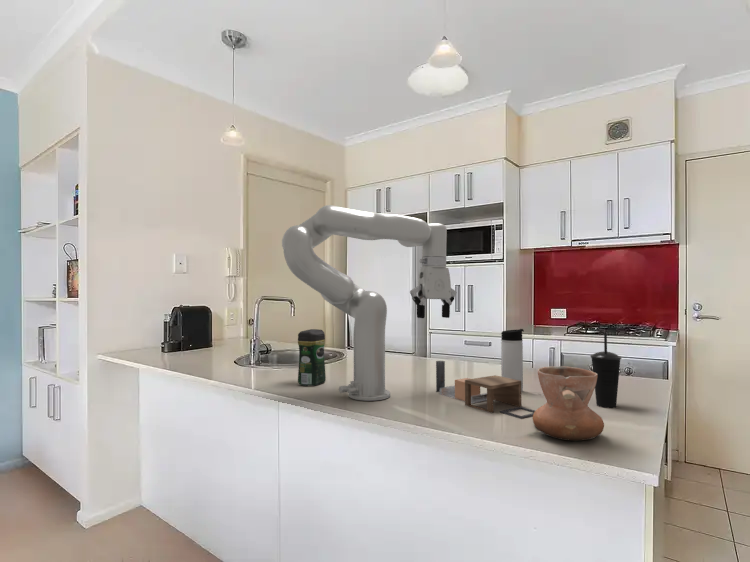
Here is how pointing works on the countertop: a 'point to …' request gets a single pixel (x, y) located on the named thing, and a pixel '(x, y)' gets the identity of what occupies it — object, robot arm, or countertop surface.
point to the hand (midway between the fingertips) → (433, 317)
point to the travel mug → (512, 355)
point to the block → (461, 389)
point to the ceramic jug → (567, 404)
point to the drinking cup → (606, 376)
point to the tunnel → (495, 391)
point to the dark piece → (518, 415)
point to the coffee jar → (311, 357)
